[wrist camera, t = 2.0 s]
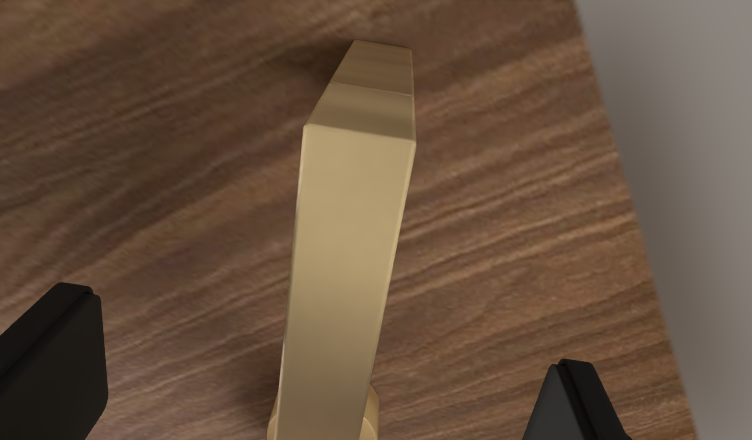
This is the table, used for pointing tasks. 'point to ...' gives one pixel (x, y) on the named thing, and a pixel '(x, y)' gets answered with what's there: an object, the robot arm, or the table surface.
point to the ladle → (345, 245)
